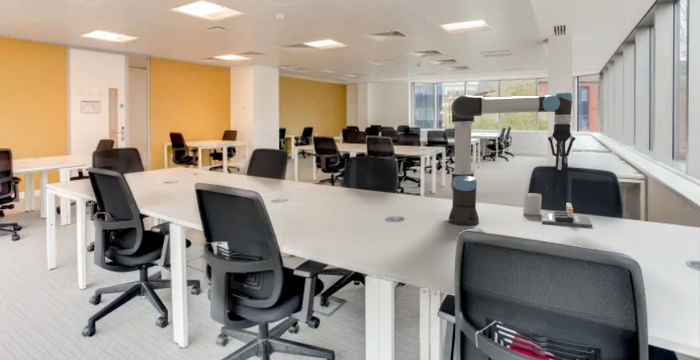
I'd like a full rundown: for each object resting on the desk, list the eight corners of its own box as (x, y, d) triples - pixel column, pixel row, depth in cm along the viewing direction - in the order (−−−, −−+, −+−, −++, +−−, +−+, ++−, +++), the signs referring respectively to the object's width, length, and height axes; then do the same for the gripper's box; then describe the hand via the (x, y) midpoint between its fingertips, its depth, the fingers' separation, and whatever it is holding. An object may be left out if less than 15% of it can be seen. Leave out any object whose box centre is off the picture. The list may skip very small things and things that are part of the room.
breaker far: (566, 212, 218) (566, 204, 217) (565, 211, 220) (566, 203, 220) (570, 212, 217) (571, 204, 216) (570, 211, 219) (570, 203, 219)
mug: (540, 216, 225) (541, 196, 224) (522, 214, 229) (523, 195, 228) (541, 212, 236) (542, 192, 234) (524, 210, 240) (525, 191, 238)
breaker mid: (566, 214, 212) (567, 206, 212) (566, 213, 215) (567, 205, 214) (571, 214, 211) (572, 206, 211) (571, 213, 214) (571, 205, 213)
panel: (542, 223, 210) (542, 216, 209) (541, 216, 226) (542, 209, 225) (592, 227, 201) (592, 220, 200) (588, 219, 217) (588, 213, 216)
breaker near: (567, 217, 207) (568, 208, 206) (567, 215, 209) (567, 207, 209) (572, 217, 206) (573, 208, 205) (572, 216, 208) (572, 207, 208)
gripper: (548, 123, 211) (545, 169, 214) (577, 123, 205) (574, 170, 209) (548, 123, 217) (545, 168, 221) (576, 123, 212) (573, 169, 215)
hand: (559, 169), depth 215 cm, fingers closed
